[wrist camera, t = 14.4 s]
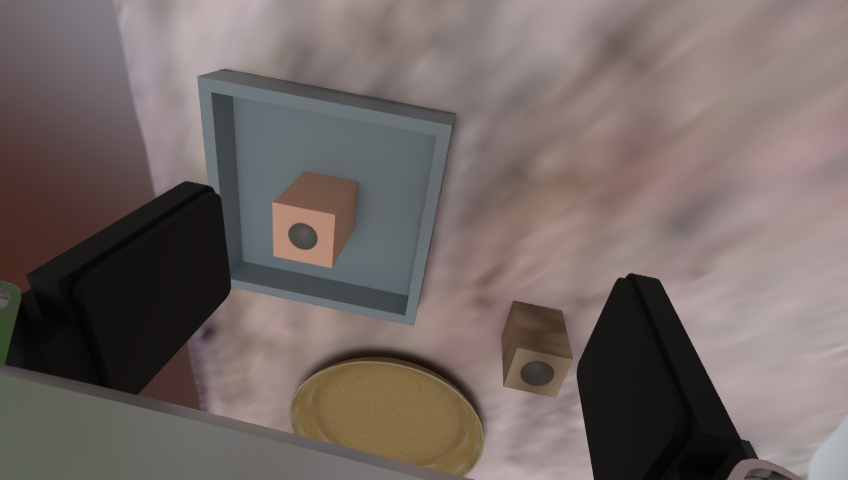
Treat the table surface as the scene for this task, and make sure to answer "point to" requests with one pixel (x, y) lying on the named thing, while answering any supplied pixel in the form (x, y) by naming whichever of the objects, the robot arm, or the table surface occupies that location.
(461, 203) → the table surface
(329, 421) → the plant saucer
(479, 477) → the table surface
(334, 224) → the terracotta block
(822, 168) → the table surface
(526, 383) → the walnut block
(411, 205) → the tray
